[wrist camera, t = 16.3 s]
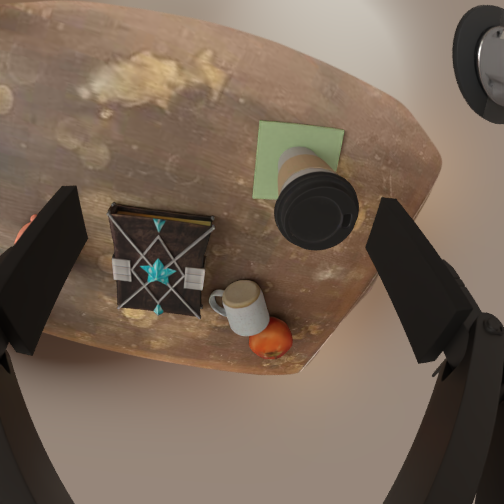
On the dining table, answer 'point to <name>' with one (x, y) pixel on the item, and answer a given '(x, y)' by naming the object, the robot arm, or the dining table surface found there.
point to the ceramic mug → (242, 307)
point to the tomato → (272, 340)
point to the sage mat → (282, 138)
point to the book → (159, 259)
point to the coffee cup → (313, 201)
